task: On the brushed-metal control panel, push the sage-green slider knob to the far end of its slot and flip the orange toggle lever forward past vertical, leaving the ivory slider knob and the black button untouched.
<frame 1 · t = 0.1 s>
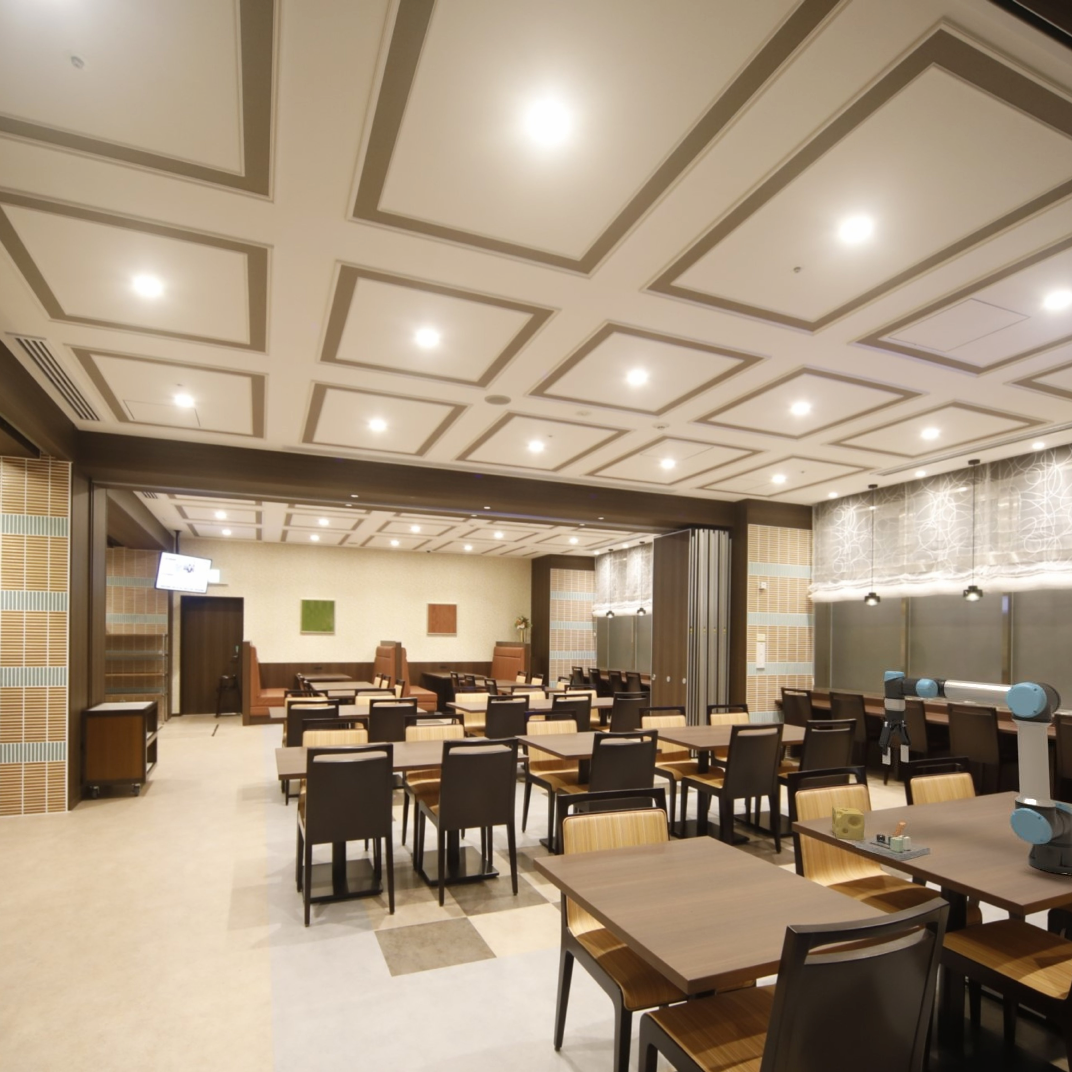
hand: (895, 762, 282), 28 cm above the table, fingers open, 13 cm apart
cheese: (847, 836, 273), on the table
slider sage: (896, 844, 251), point 4 cm above the table, slide at 0.0 cm
lever orange: (898, 832, 261), point 6 cm above the table, hinge at -24.0°
slider ivory: (904, 842, 253), point 4 cm above the table, slide at 0.0 cm
panel: (892, 850, 258), on the table
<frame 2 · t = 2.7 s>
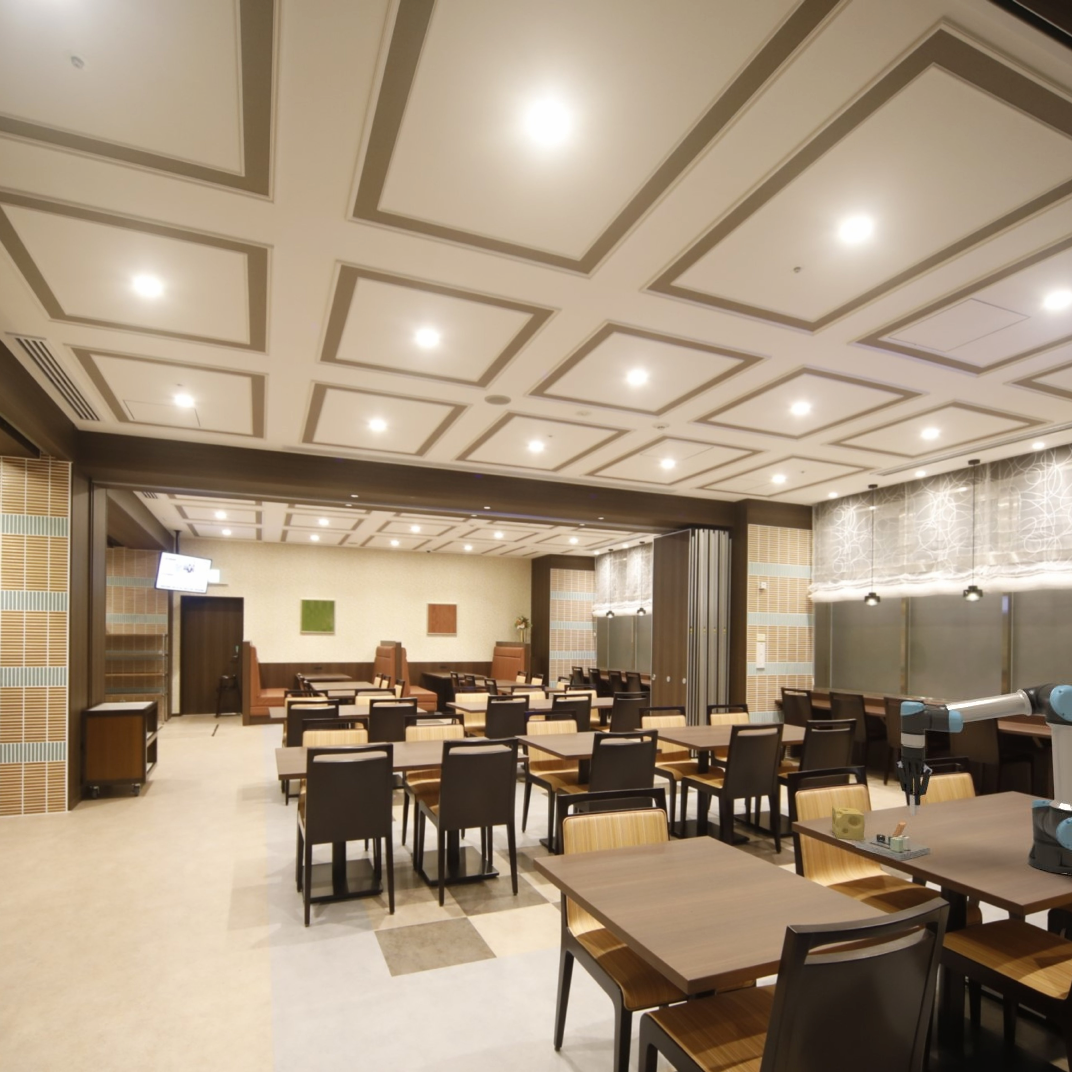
hand: (914, 814, 247), 16 cm above the table, fingers closed
nothing on the table moved.
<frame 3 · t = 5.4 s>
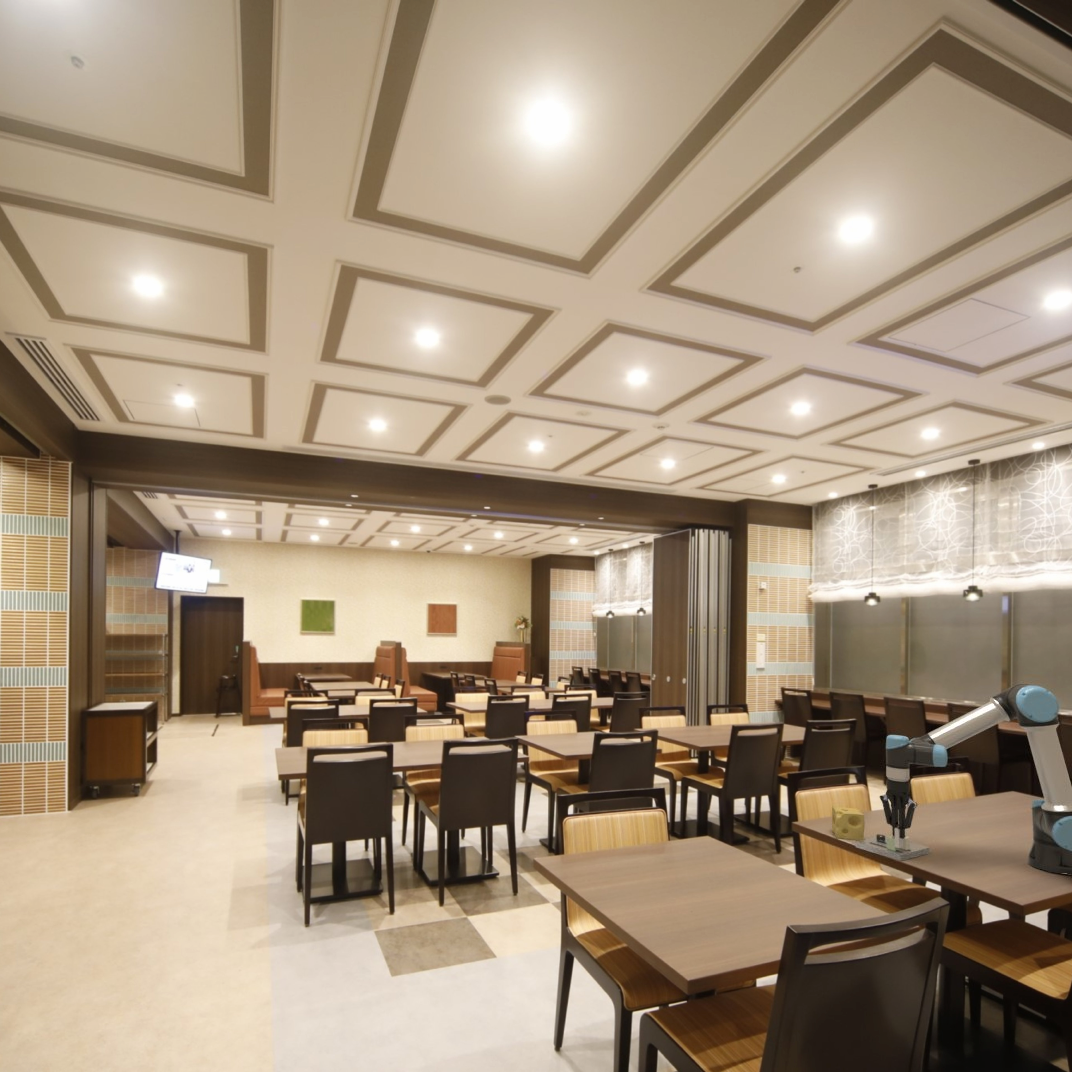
hand: (898, 846, 250), 4 cm above the table, fingers closed
slider sage: (892, 842, 252), point 4 cm above the table, slide at 1.4 cm, touching gripper
everything else where it was.
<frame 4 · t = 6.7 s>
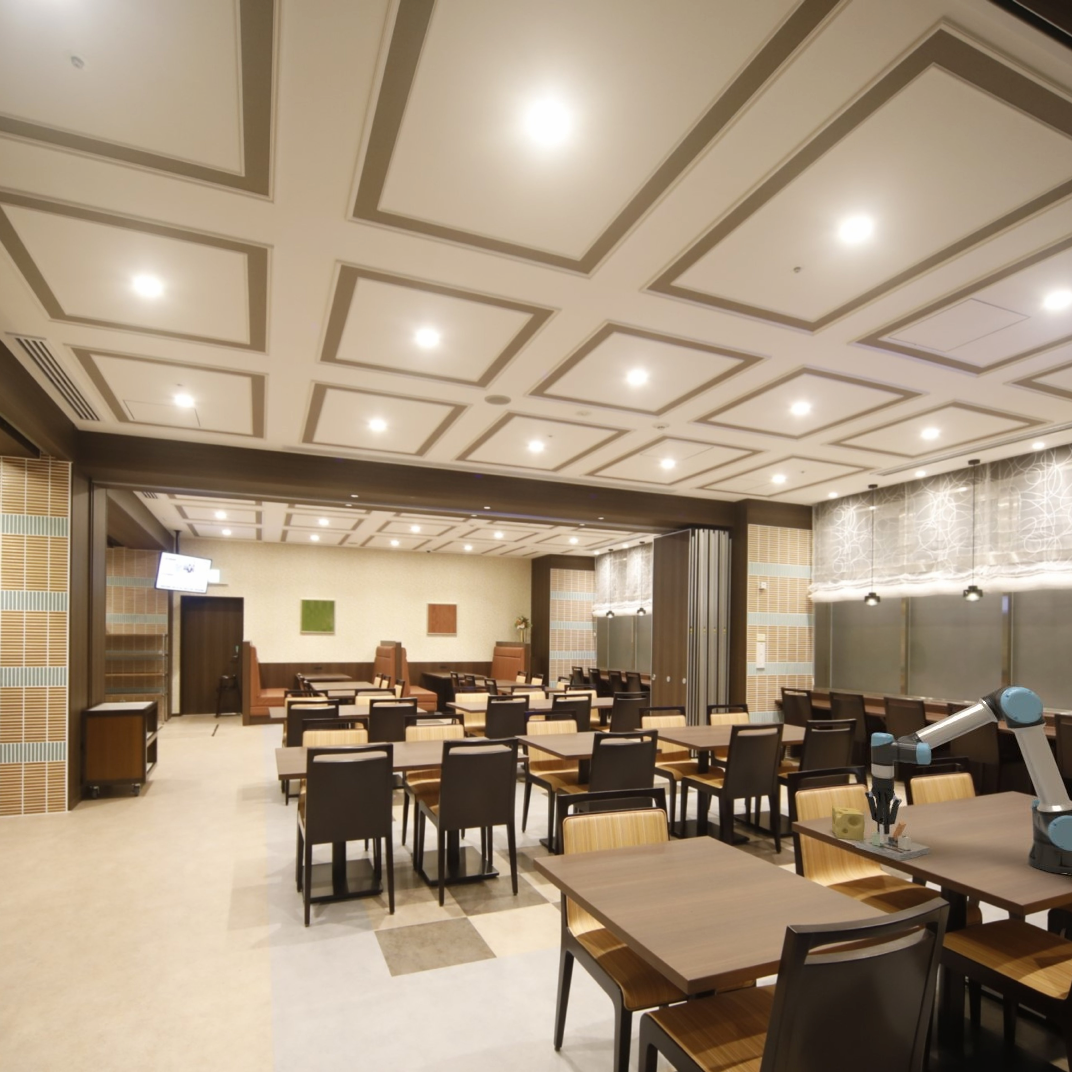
hand: (883, 842, 255), 3 cm above the table, fingers closed
slider sage: (877, 838, 257), point 4 cm above the table, slide at 7.1 cm, touching gripper
everything else where it was.
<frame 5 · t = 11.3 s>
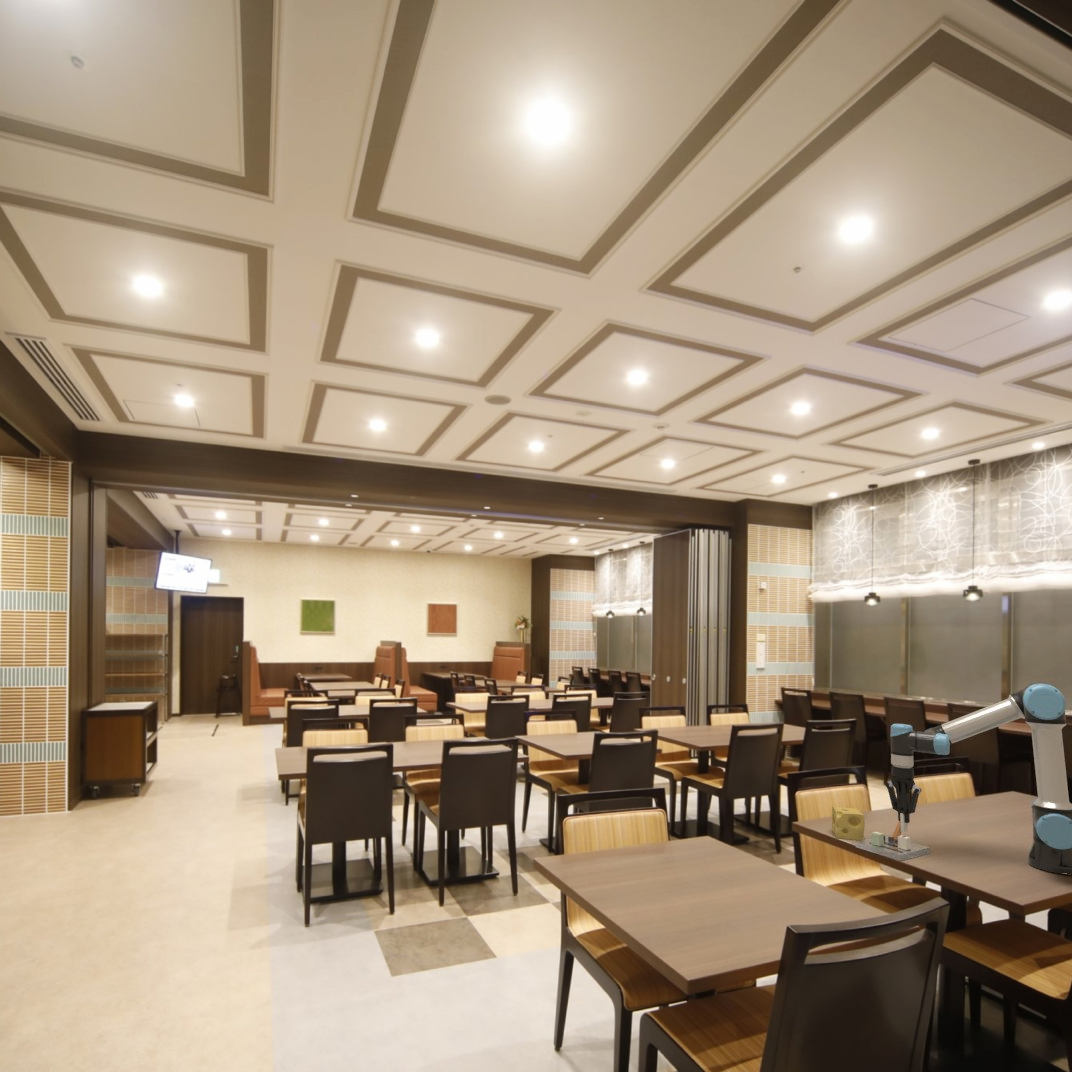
hand: (904, 831, 259), 7 cm above the table, fingers closed
slider sage: (877, 838, 257), point 4 cm above the table, slide at 7.2 cm
lever orange: (897, 831, 261), point 6 cm above the table, hinge at -21.1°, touching gripper
everything else where it was.
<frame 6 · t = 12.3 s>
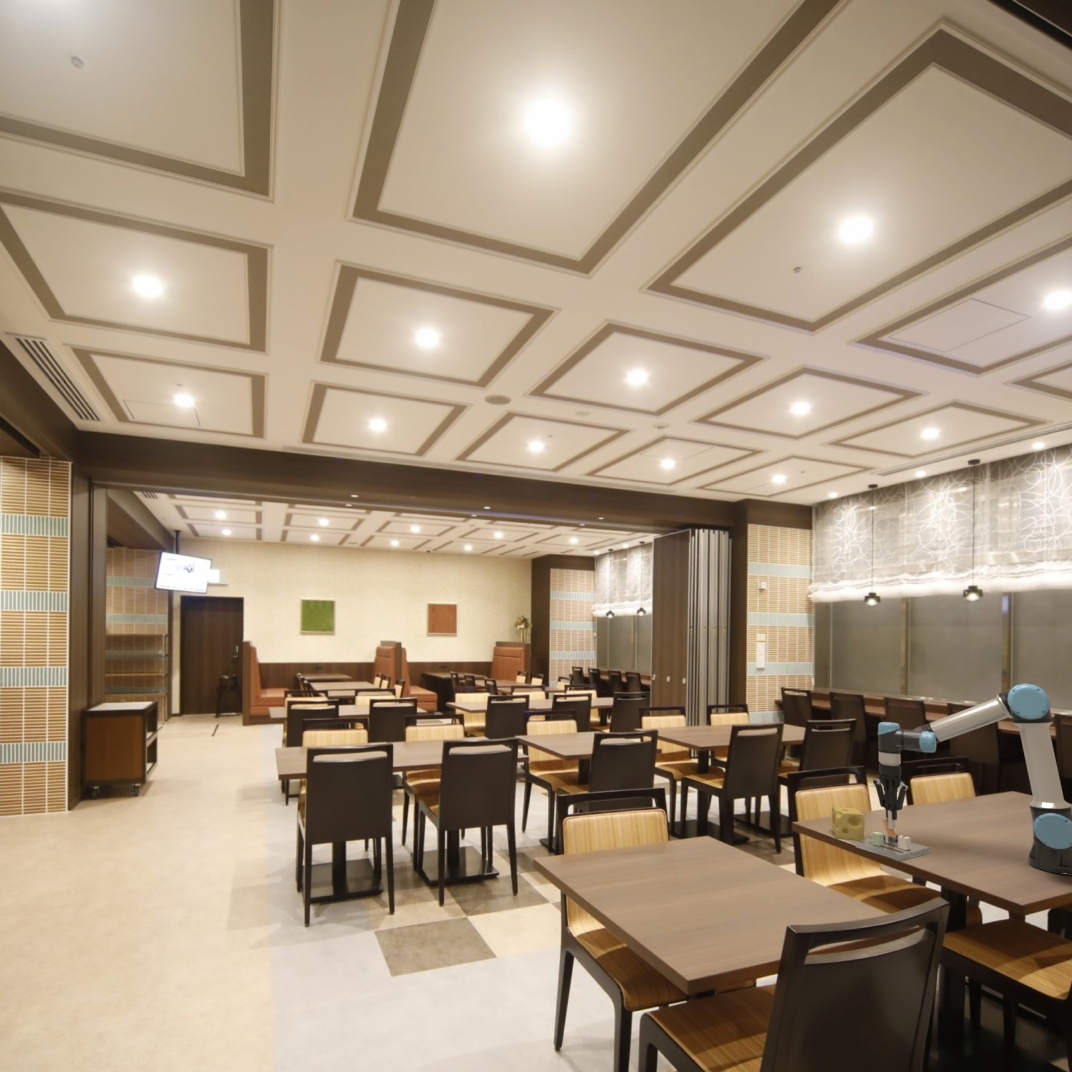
hand: (891, 828, 263), 7 cm above the table, fingers closed
lever orange: (890, 829, 264), point 6 cm above the table, hinge at 22.9°, touching gripper
everything else where it was.
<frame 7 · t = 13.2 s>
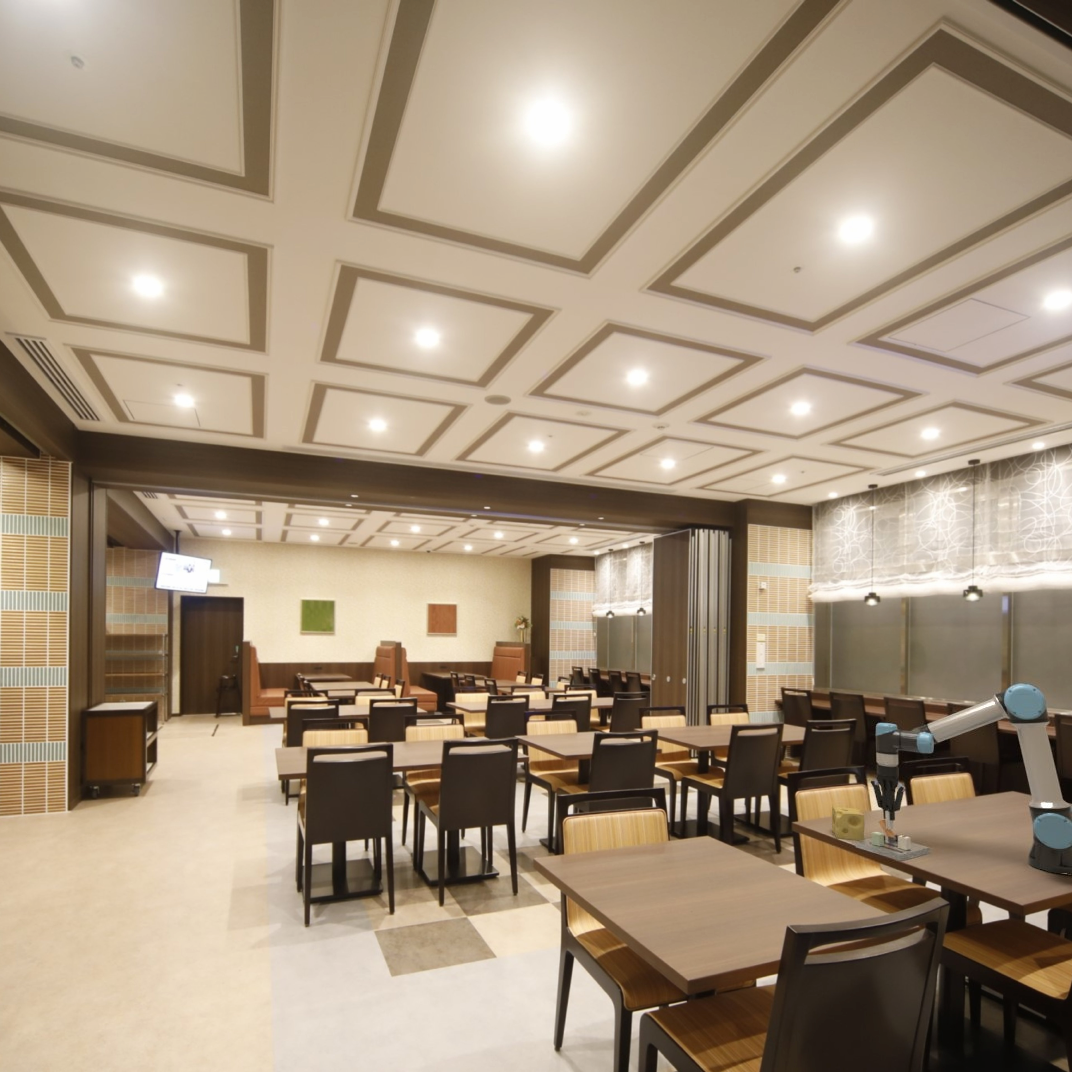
hand: (889, 828, 264), 6 cm above the table, fingers closed
lever orange: (887, 830, 265), point 5 cm above the table, hinge at 37.9°, touching gripper
everything else where it was.
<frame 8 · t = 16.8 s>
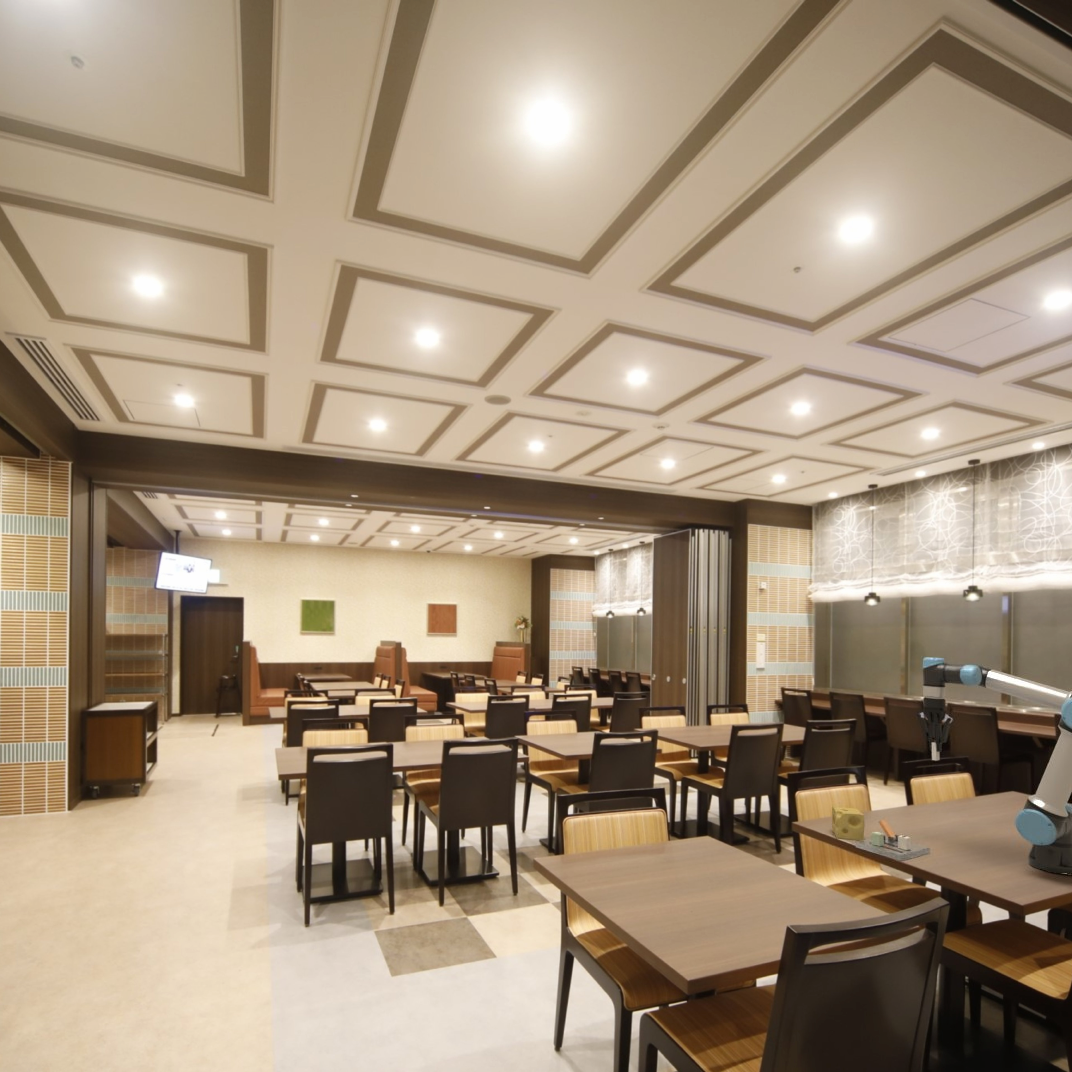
hand: (935, 759, 267), 32 cm above the table, fingers closed
lever orange: (887, 830, 265), point 5 cm above the table, hinge at 38.1°
everything else where it was.
at the end: lever orange at +38° (first picture: -24°); slider sage slide at 7.2 cm; slider ivory slide at 0.0 cm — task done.
